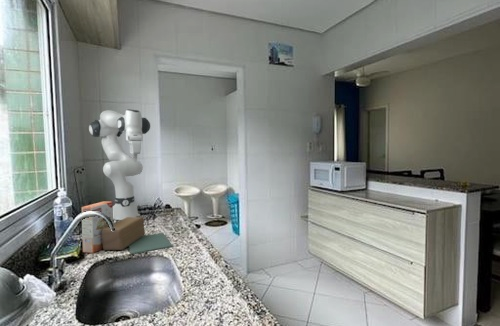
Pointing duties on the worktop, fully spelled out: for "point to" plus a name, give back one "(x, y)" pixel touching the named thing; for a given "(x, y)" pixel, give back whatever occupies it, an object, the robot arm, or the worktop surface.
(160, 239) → the mat
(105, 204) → the cracker box
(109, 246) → the wooden block
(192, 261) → the worktop surface
